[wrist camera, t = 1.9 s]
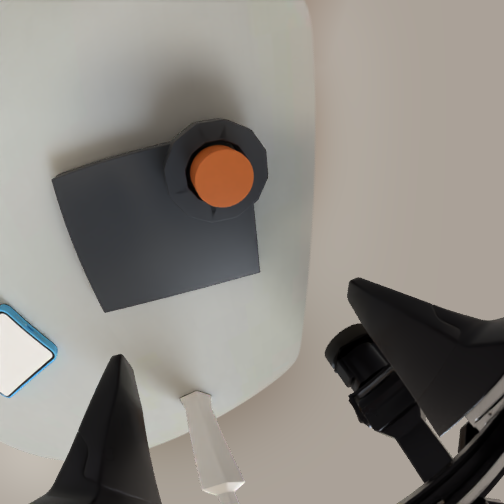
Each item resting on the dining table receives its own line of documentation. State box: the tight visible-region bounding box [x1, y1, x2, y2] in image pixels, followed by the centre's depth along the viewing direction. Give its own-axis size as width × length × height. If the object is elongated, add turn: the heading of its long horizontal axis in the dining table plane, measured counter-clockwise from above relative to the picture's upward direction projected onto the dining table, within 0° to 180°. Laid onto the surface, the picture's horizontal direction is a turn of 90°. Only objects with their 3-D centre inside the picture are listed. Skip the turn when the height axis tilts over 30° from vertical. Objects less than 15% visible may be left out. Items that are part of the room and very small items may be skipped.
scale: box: [52, 119, 268, 313], centre depth 17 cm, size 14×12×3 cm
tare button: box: [190, 145, 254, 207], centre depth 15 cm, size 3×3×2 cm
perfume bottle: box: [180, 391, 245, 504], centre depth 24 cm, size 5×4×15 cm
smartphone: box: [0, 304, 57, 398], centre depth 18 cm, size 8×1×15 cm
